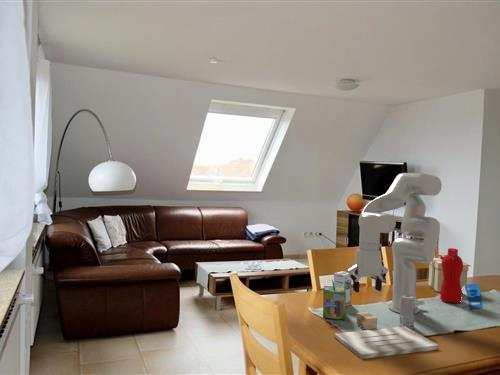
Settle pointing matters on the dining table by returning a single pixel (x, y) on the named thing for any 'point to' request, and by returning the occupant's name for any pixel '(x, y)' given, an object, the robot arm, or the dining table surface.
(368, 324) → the block
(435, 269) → the gift box
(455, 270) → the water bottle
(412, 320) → the energy drink
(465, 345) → the dining table surface
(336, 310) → the chalk box
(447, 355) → the dining table surface
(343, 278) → the syrup box
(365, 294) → the dining table surface
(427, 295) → the dining table surface
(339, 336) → the board
